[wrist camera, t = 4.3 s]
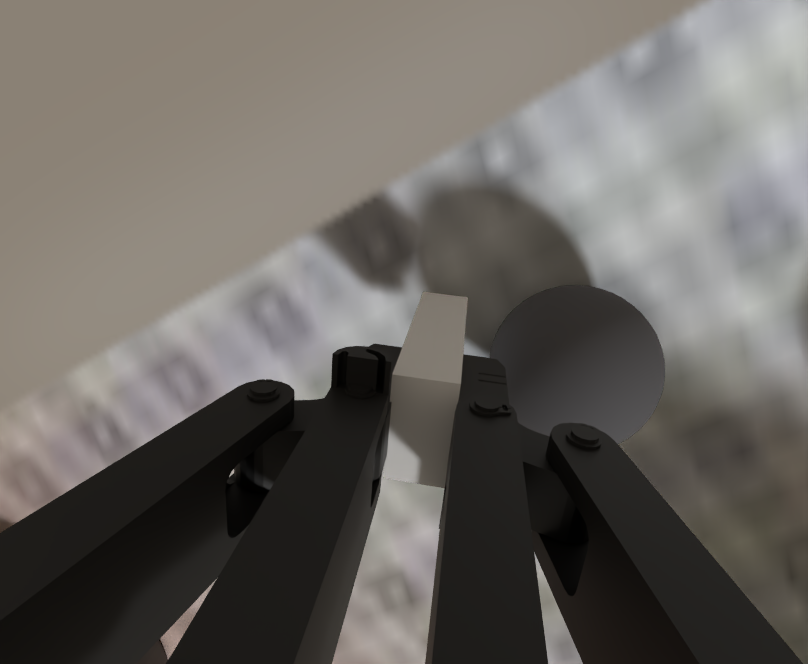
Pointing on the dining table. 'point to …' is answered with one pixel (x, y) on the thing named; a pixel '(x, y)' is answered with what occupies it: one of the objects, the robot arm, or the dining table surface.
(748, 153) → the dining table surface
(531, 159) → the dining table surface
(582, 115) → the dining table surface
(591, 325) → the cue ball black
